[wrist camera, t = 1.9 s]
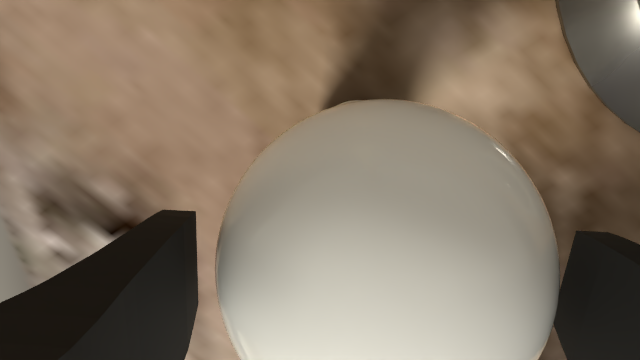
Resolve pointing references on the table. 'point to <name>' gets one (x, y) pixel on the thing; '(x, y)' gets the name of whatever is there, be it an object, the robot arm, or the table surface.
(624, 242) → the robot arm
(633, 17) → the lamp base
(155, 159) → the table surface
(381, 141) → the lightbulb
